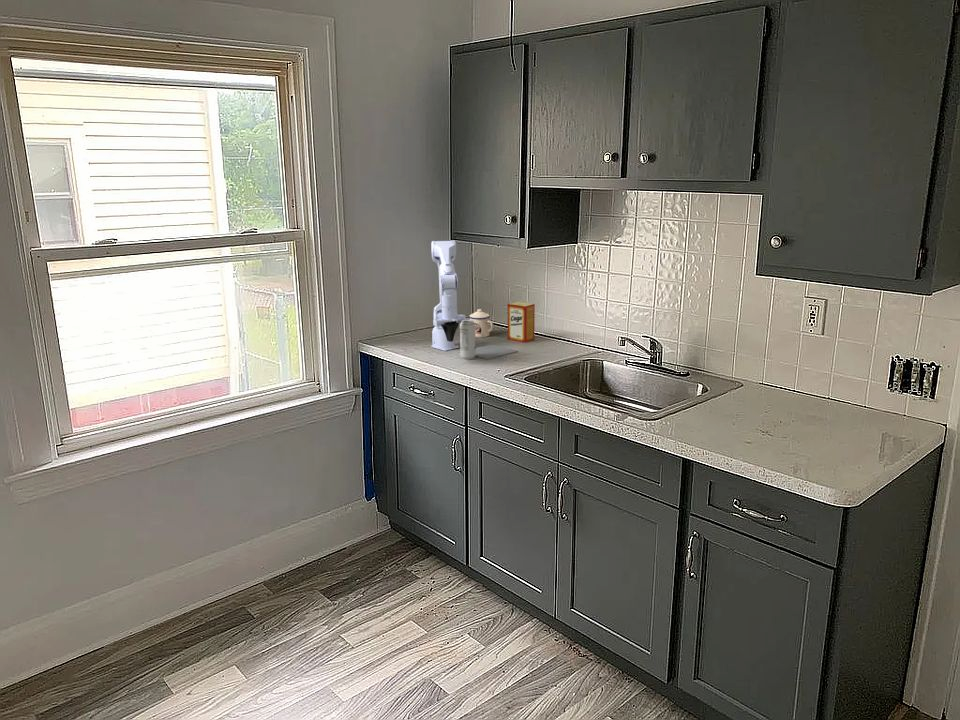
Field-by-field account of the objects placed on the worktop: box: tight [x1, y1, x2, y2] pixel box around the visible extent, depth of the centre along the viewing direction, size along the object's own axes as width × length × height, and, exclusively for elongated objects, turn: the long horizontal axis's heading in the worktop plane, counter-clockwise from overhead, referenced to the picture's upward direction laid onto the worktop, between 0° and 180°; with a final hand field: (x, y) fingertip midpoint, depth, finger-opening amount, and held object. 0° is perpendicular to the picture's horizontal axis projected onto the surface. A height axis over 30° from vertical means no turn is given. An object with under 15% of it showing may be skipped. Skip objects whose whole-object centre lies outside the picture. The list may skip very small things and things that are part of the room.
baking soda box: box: [507, 301, 536, 344], centre depth 318 cm, size 10×6×16 cm
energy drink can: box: [459, 318, 476, 361], centre depth 290 cm, size 6×6×15 cm
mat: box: [475, 344, 519, 361], centre depth 300 cm, size 15×17×1 cm
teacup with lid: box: [468, 308, 494, 338], centre depth 326 cm, size 12×9×12 cm
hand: (450, 341), depth 284 cm, fingers closed
